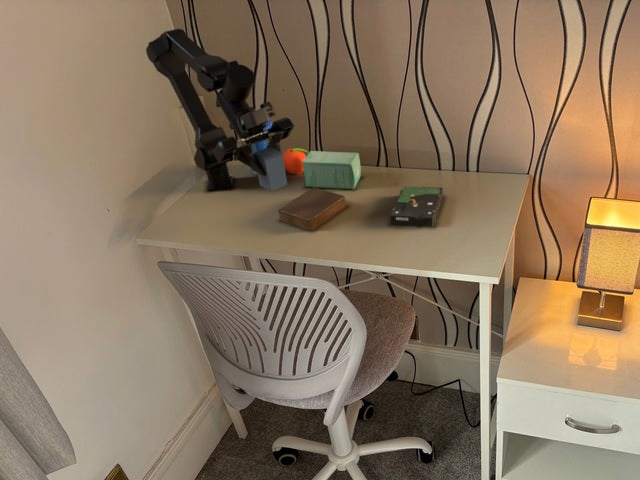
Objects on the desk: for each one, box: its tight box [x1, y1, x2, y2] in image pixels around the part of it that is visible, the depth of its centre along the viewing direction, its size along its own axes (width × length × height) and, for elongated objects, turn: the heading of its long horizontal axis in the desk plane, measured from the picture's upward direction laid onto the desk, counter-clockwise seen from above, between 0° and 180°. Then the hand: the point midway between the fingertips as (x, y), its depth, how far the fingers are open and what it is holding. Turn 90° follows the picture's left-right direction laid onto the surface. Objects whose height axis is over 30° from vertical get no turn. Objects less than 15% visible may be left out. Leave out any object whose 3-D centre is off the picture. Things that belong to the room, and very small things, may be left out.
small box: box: [254, 147, 288, 192], centre depth 141 cm, size 5×5×8 cm
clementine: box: [282, 147, 309, 175], centre depth 168 cm, size 8×7×7 cm
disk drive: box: [389, 185, 444, 227], centre depth 149 cm, size 10×3×15 cm
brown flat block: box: [277, 187, 347, 232], centre depth 150 cm, size 10×13×3 cm
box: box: [302, 150, 362, 190], centre depth 162 cm, size 7×14×8 cm, turn 79°
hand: (274, 171), depth 140 cm, fingers closed on small box, 4 cm apart
